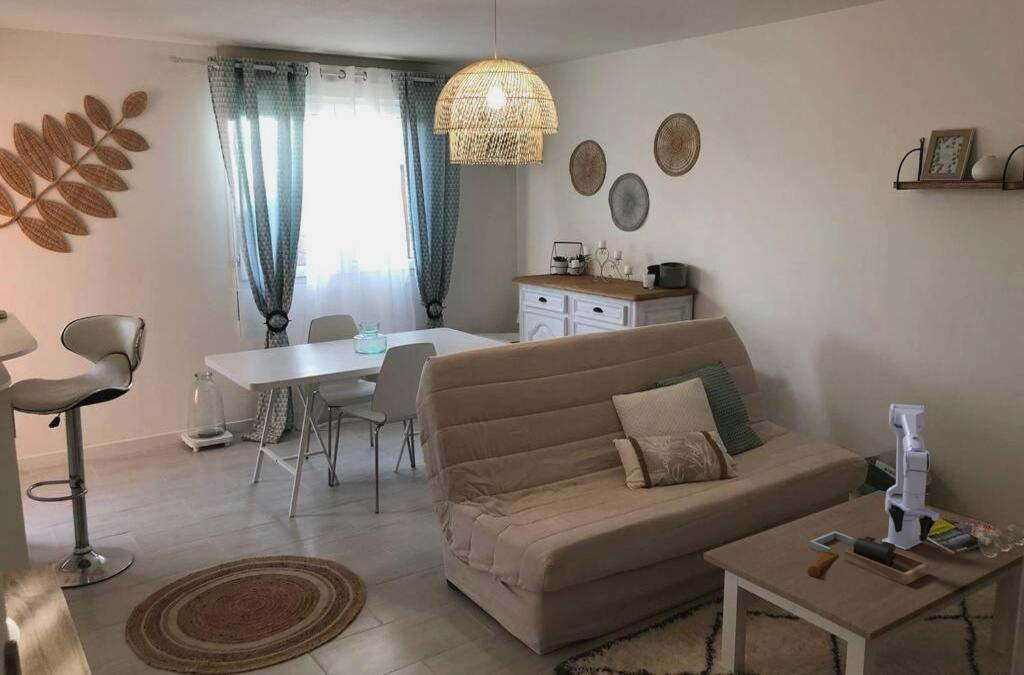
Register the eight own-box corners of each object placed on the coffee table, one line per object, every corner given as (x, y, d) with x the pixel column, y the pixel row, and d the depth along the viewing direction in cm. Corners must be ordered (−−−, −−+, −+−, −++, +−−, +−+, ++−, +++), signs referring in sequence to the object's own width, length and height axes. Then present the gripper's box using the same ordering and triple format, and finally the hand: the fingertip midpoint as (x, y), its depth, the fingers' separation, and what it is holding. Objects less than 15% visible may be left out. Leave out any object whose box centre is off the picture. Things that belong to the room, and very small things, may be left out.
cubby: (867, 550, 257) (868, 541, 257) (928, 573, 242) (929, 563, 241) (844, 560, 251) (844, 551, 250) (905, 585, 235) (906, 575, 234)
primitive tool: (820, 551, 258) (821, 541, 257) (839, 555, 255) (840, 545, 254) (806, 576, 242) (806, 565, 241) (825, 581, 239) (826, 570, 238)
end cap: (852, 561, 250) (853, 540, 249) (862, 553, 255) (864, 533, 254) (885, 572, 243) (887, 550, 242) (895, 564, 248) (897, 543, 247)
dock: (834, 536, 267) (834, 531, 267) (853, 544, 262) (854, 538, 261) (809, 547, 260) (809, 541, 260) (828, 555, 255) (828, 549, 254)
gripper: (882, 487, 244) (879, 530, 247) (930, 502, 232) (927, 547, 235) (896, 482, 248) (893, 525, 250) (944, 496, 236) (940, 541, 239)
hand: (910, 535), depth 243 cm, fingers open, 7 cm apart
